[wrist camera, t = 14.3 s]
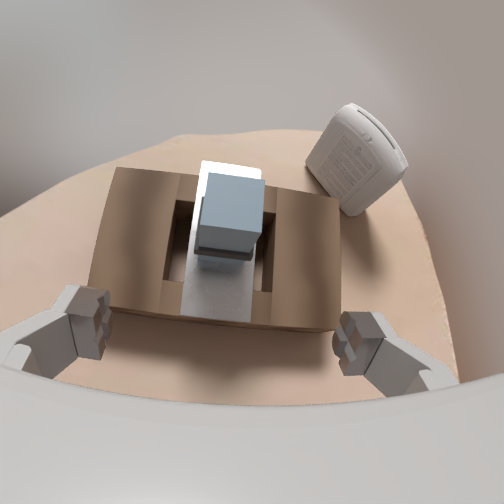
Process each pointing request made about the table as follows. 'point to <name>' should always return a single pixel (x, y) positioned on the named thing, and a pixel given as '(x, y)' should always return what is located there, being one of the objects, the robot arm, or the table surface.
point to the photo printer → (356, 159)
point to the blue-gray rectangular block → (229, 218)
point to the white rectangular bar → (217, 268)
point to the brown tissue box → (182, 208)
